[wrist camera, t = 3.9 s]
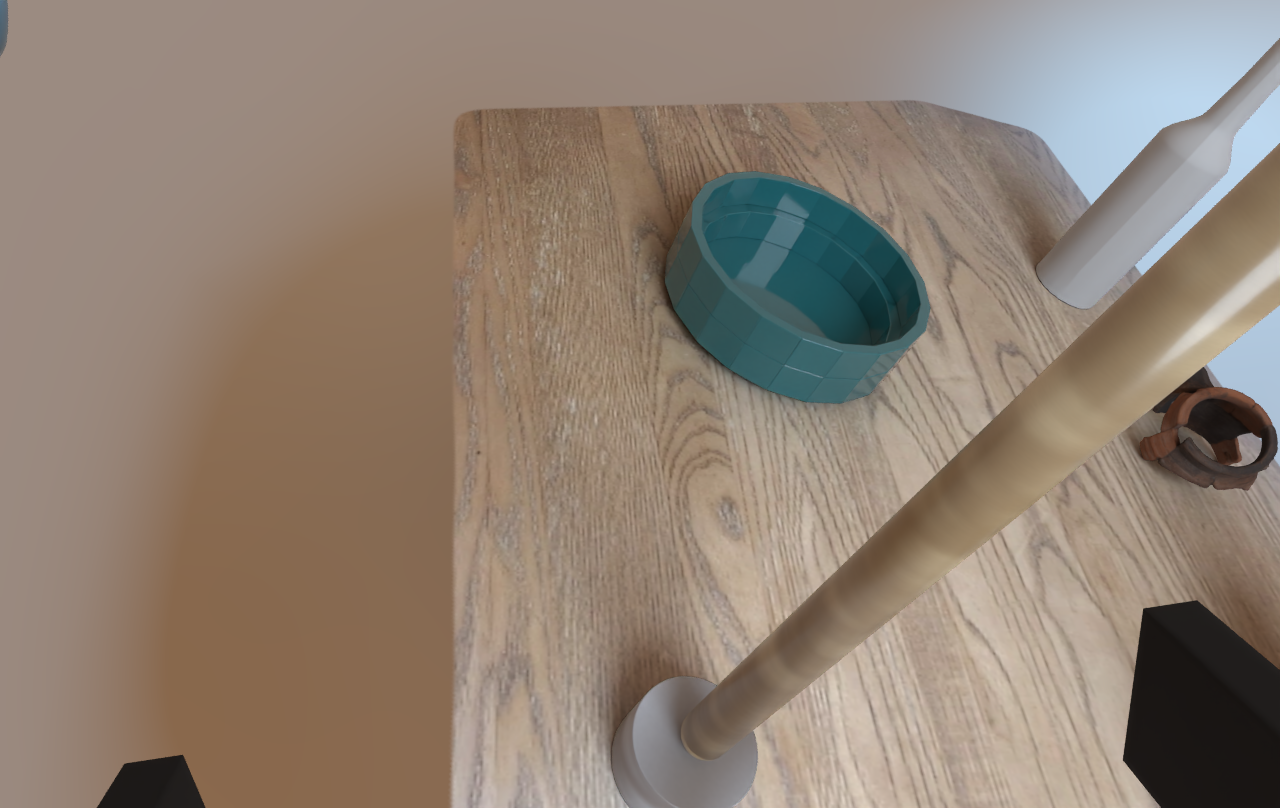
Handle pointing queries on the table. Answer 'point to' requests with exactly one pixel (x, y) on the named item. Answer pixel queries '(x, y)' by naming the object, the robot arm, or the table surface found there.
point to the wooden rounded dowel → (971, 496)
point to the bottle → (1153, 192)
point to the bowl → (794, 287)
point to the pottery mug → (1210, 434)
